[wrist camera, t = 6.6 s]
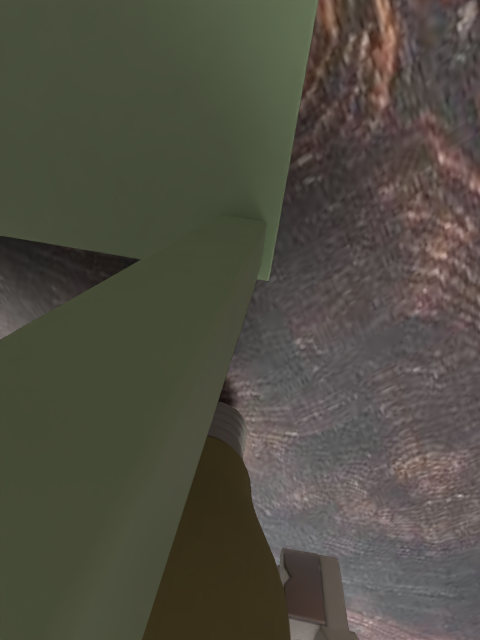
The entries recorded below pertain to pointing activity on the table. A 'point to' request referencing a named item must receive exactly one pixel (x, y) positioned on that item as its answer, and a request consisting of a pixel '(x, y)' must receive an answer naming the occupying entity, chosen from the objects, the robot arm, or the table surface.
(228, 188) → the stand
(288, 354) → the table surface
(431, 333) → the table surface
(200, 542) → the light bulb
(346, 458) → the table surface
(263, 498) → the table surface
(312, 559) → the robot arm
